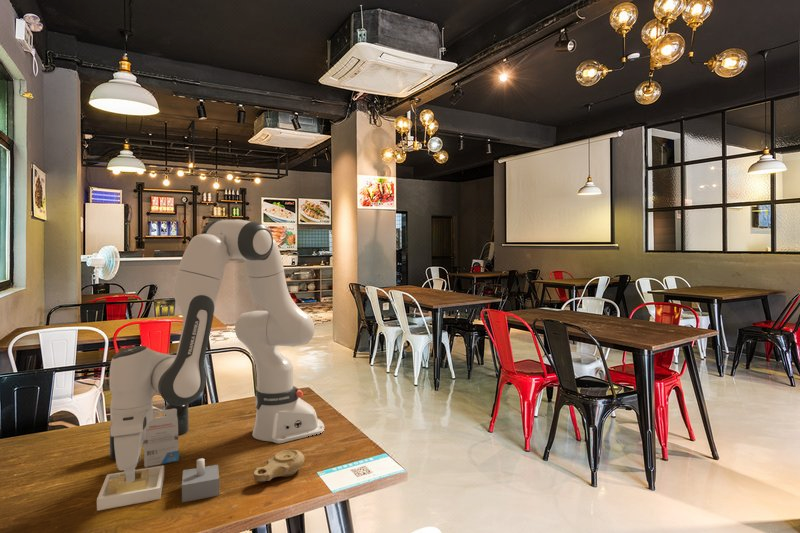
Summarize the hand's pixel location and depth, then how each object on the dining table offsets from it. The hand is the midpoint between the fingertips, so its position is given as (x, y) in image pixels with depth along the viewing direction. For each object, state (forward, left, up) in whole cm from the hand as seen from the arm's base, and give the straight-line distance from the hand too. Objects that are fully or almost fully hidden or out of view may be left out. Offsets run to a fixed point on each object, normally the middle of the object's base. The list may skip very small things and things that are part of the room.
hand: (133, 471), depth 112 cm
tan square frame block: (0, +1, -4) cm, 4 cm away
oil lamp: (-34, +7, -5) cm, 35 cm away
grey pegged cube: (-15, +7, -5) cm, 17 cm away
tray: (0, +1, -5) cm, 5 cm away
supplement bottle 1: (+5, -23, -5) cm, 25 cm away
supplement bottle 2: (-8, -36, -5) cm, 38 cm away
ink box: (-5, -15, -5) cm, 17 cm away
